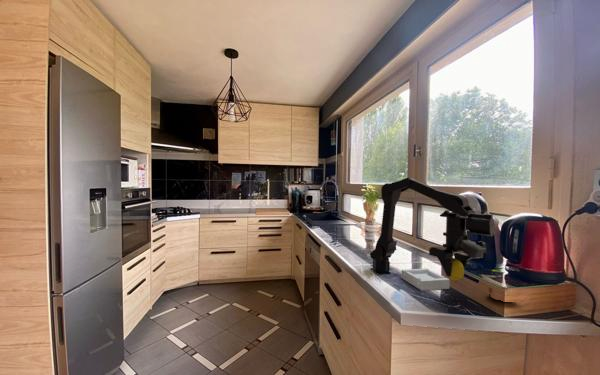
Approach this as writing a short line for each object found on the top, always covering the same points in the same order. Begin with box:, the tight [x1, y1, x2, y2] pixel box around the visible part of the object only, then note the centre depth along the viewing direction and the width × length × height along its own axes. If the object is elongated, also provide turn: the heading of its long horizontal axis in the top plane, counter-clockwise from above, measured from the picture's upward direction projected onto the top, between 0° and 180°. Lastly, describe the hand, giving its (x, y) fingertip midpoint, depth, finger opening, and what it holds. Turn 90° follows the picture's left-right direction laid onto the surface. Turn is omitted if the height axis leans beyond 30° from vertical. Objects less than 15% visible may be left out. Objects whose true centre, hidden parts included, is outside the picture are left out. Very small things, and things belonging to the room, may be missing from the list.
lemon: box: [447, 257, 465, 282], centre depth 82 cm, size 6×6×8 cm
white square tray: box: [401, 268, 451, 291], centre depth 93 cm, size 12×12×4 cm
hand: (454, 275), depth 82 cm, fingers closed on lemon, 5 cm apart
